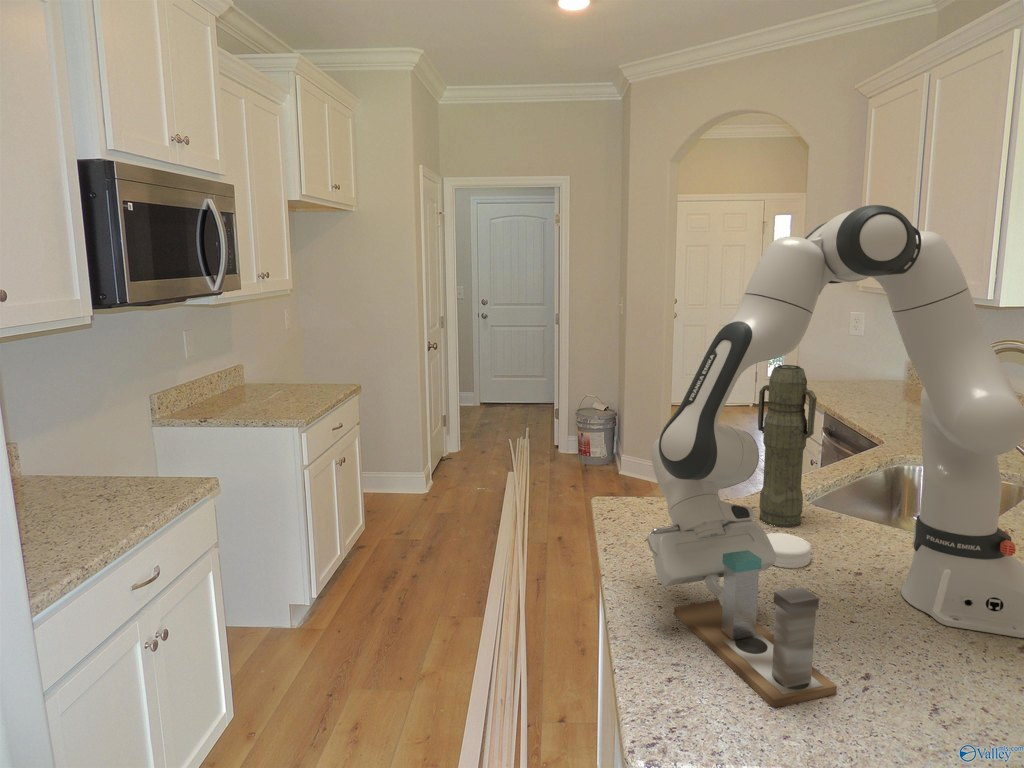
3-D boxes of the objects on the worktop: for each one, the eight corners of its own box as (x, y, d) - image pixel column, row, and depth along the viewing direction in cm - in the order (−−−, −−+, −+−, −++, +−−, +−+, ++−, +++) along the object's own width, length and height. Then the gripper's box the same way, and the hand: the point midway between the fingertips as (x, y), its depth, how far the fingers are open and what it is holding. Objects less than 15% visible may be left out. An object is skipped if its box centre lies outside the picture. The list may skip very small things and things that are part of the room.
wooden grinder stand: (674, 613, 116) (676, 535, 114) (726, 604, 119) (729, 528, 117) (773, 708, 92) (779, 611, 89) (836, 693, 95) (843, 599, 92)
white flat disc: (800, 574, 131) (801, 556, 130) (748, 560, 137) (748, 543, 136) (817, 556, 138) (818, 540, 137) (767, 544, 144) (767, 528, 144)
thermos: (803, 532, 150) (814, 371, 143) (747, 521, 156) (755, 367, 150) (812, 519, 157) (822, 365, 151) (758, 509, 163) (766, 362, 157)
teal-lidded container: (719, 629, 108) (722, 553, 106) (744, 625, 110) (747, 550, 107) (732, 641, 105) (736, 562, 103) (757, 636, 106) (761, 558, 104)
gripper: (650, 521, 111) (680, 607, 103) (761, 507, 117) (796, 587, 109) (637, 537, 116) (664, 620, 108) (743, 522, 122) (776, 600, 114)
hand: (731, 603), depth 109 cm, fingers closed, pressing on teal-lidded container
